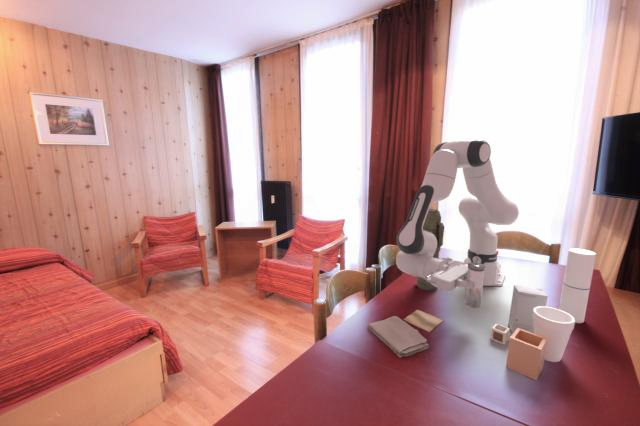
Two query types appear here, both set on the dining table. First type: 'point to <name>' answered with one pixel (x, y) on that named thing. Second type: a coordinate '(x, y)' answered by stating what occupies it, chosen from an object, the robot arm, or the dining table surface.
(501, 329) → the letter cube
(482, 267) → the tin canister
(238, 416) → the dining table surface
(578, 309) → the cylindrical container
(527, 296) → the skincare box
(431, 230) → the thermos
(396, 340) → the washcloth
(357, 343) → the dining table surface
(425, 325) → the cork coaster
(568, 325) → the foam cup
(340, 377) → the dining table surface
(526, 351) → the terracotta planter
